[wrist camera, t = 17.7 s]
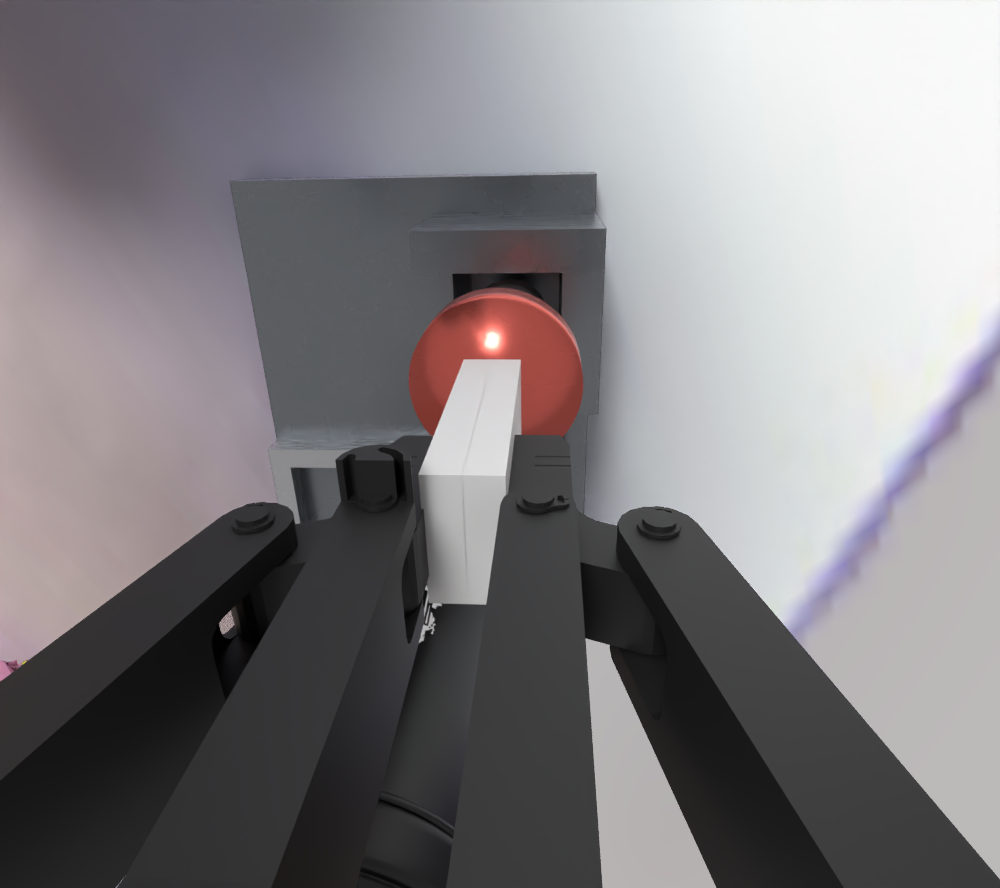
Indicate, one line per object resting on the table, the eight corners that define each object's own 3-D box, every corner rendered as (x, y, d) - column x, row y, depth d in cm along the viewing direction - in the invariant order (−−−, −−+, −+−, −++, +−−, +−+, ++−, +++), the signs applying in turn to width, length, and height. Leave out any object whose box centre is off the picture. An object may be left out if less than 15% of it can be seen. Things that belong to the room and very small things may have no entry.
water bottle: (486, 459, 34) (385, 979, 13) (543, 611, 38) (536, 1199, 17) (310, 506, 36) (-25, 1025, 15) (382, 646, 39) (197, 1212, 19)
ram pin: (450, 377, 27) (415, 463, 20) (443, 253, 25) (401, 299, 18) (571, 377, 27) (580, 465, 20) (575, 251, 25) (586, 298, 17)
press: (325, 649, 42) (282, 748, 35) (244, 179, 30) (155, 190, 23) (576, 657, 41) (582, 760, 34) (594, 172, 29) (608, 182, 22)
